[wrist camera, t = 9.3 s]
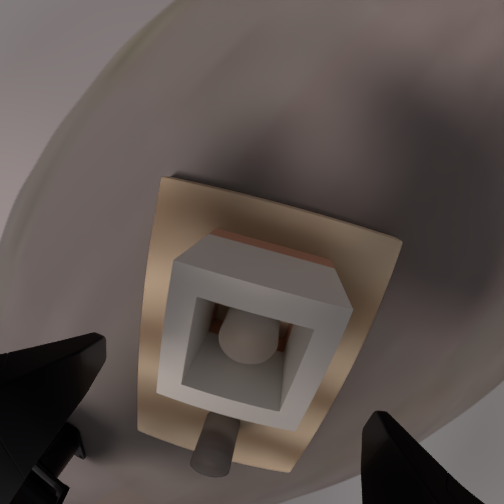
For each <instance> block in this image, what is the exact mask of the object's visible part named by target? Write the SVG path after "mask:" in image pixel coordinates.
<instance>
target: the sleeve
mask: <svg viewBox="0 0 504 504" xmlns="http://www.w3.org/2000/svg"><path fill="white" fill-rule="evenodd" d="M218 304H222V305H226V306H229V307H233V308H236V309H240V310H243V311H247V312H250V313H254V314H258V315H261V316H265V317H269V318H272V319H276V320H280V321H284V322H287V323H289V326H288V329H287V331H286V334H285V337H284V338H283V337H279V338H278V346H277V349H276V351H275V353H274V354H273V356H272V357H270V358H269V359H268V360H266V361H264V362H262V363H259V364H242V363H239V362H236V361H234V360H233V359H231V358H230V357H228V356H227V355H226V354H225V353H224V351H223V350H222V348H221V346H220V343H219V331H220V328H221V326H222V324H223V322H224V321H221V320H218V319H215V317H216V313H217V309H218ZM352 312H353V308H352V306H351V304H350V301H349V299H348V297H347V294H346V292H345V290H344V288H343V286H342V283H341V281H340V279H339V277H338V275H337V272H336V270H335V268H334V266H333V264H332V262H331V260H330V259H326V258H323V257H319V256H316V255H312V254H308V253H305V252H301V251H298V250H294V249H291V248H287V247H283V246H280V245H276V244H272V243H269V242H265V241H262V240H258V239H254V238H251V237H247V236H243V235H240V234H236V233H232V232H228V231H225V230H221V229H217V228H216V229H215V230H213V231H212V232H211V233H209V234H208V235H206V236H205V237H204V238H202V239H201V240H200V241H198V242H197V243H196V244H194V245H193V246H192V247H190V248H189V249H188V250H186V251H185V252H184V253H182V254H181V255H180V256H178V257H177V258H176V259H174V260H173V265H172V271H171V277H170V283H169V290H168V296H167V303H166V310H165V318H164V325H163V333H162V341H161V350H160V359H159V369H158V379H157V390H156V393H158V394H161V395H164V396H166V397H169V398H172V399H175V400H178V401H181V402H183V403H186V404H189V405H192V406H196V407H199V408H202V409H205V410H208V411H212V412H215V413H218V414H222V415H225V416H229V417H233V418H236V419H240V420H244V421H248V422H252V423H257V424H261V425H265V426H270V427H274V428H279V429H284V430H289V431H296V429H297V427H298V426H299V424H300V422H301V420H302V418H303V416H304V415H305V413H306V411H307V409H308V407H309V405H310V403H311V401H312V399H313V397H314V395H315V393H316V391H317V389H318V387H319V385H320V383H321V381H322V379H323V377H324V375H325V373H326V371H327V369H328V367H329V365H330V363H331V360H332V358H333V356H334V354H335V352H336V349H337V347H338V345H339V343H340V340H341V338H342V336H343V334H344V331H345V329H346V326H347V324H348V322H349V319H350V317H351V314H352Z"/></svg>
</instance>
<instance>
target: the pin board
mask: <svg viewBox="0 0 504 504" xmlns="http://www.w3.org/2000/svg"><path fill="white" fill-rule="evenodd" d="M216 228H217V229H221V230H225V231H228V232H232V233H236V234H240V235H243V236H247V237H251V238H254V239H258V240H262V241H265V242H269V243H272V244H276V245H280V246H283V247H287V248H291V249H294V250H298V251H301V252H305V253H308V254H312V255H316V256H319V257H323V258H326V259H330V260H331V262H332V264H333V266H334V268H335V270H336V272H337V275H338V277H339V279H340V281H341V283H342V286H343V288H344V290H345V292H346V294H347V297H348V299H349V301H350V304H351V306H352V308H353V312H352V314H351V317H350V319H349V322H348V324H347V326H346V329H345V331H344V334H343V336H342V338H341V340H340V343H339V345H338V347H337V349H336V352H335V354H334V356H333V358H332V360H331V363H330V365H329V367H328V369H327V371H326V373H325V375H324V377H323V379H322V381H321V383H320V385H319V387H318V389H317V391H316V393H315V395H314V397H313V399H312V401H311V403H310V405H309V407H308V409H307V411H306V413H305V415H304V416H303V418H302V420H301V422H300V424H299V426H298V427H297V429H296V431H289V430H284V429H279V428H274V427H270V426H265V425H261V424H257V423H252V422H248V421H244V420H240V419H236V418H233V417H229V416H225V415H222V414H218V413H215V412H212V411H208V410H205V409H202V408H199V407H196V406H192V405H189V404H186V403H183V402H181V401H178V400H175V399H172V398H169V397H166V396H164V395H161V394H158V393H156V390H157V379H158V369H159V359H160V350H161V341H162V333H163V325H164V318H165V310H166V303H167V296H168V290H169V283H170V277H171V271H172V265H173V260H174V259H176V258H177V257H178V256H180V255H181V254H182V253H184V252H185V251H186V250H188V249H189V248H190V247H192V246H193V245H194V244H196V243H197V242H198V241H200V240H201V239H202V238H204V237H205V236H206V235H208V234H209V233H211V232H212V231H213V230H215V229H216ZM402 244H403V242H402V241H401V240H399V239H398V238H396V237H393V236H390V235H387V234H384V233H381V232H378V231H375V230H372V229H368V228H365V227H362V226H359V225H355V224H352V223H349V222H346V221H342V220H339V219H335V218H332V217H329V216H325V215H322V214H318V213H315V212H311V211H308V210H304V209H301V208H297V207H293V206H290V205H286V204H282V203H278V202H275V201H271V200H267V199H263V198H259V197H255V196H252V195H248V194H244V193H240V192H236V191H231V190H227V189H223V188H219V187H215V186H210V185H206V184H202V183H197V182H193V181H189V180H184V179H179V178H175V177H162V179H161V184H160V189H159V194H158V199H157V205H156V210H155V216H154V222H153V228H152V235H151V241H150V248H149V255H148V263H147V270H146V279H145V287H144V297H143V307H142V318H141V331H140V345H139V364H138V399H137V425H138V431H140V432H143V433H145V434H148V435H150V436H153V437H155V438H158V439H161V440H163V441H166V442H169V443H172V444H174V445H177V446H180V447H183V448H186V449H189V450H193V451H194V453H193V456H192V458H191V461H190V465H191V467H192V468H193V469H194V470H195V471H197V472H198V473H200V474H203V475H205V476H209V477H223V476H226V475H227V474H228V473H229V470H230V466H231V462H236V463H240V464H245V465H249V466H254V467H259V468H264V469H270V470H275V471H281V472H287V473H290V471H291V470H292V468H293V467H294V465H295V464H296V462H297V461H298V459H299V458H300V456H301V455H302V453H303V452H304V450H305V449H306V447H307V446H308V444H309V442H310V441H311V439H312V438H313V436H314V434H315V433H316V431H317V429H318V428H319V426H320V424H321V423H322V421H323V419H324V418H325V416H326V414H327V412H328V411H329V409H330V407H331V405H332V404H333V402H334V400H335V398H336V396H337V395H338V393H339V391H340V389H341V387H342V385H343V383H344V381H345V379H346V378H347V376H348V374H349V372H350V370H351V368H352V366H353V364H354V362H355V360H356V357H357V355H358V353H359V351H360V349H361V347H362V345H363V343H364V341H365V338H366V336H367V334H368V332H369V329H370V327H371V325H372V323H373V320H374V318H375V316H376V313H377V311H378V308H379V306H380V304H381V301H382V299H383V296H384V294H385V291H386V288H387V286H388V283H389V280H390V278H391V275H392V272H393V270H394V267H395V264H396V261H397V258H398V255H399V253H400V250H401V247H402ZM215 319H218V320H221V321H224V322H223V324H222V326H221V328H220V331H219V343H220V346H221V348H222V350H223V351H224V353H225V354H226V355H227V356H228V357H230V358H231V359H233V360H234V361H236V362H239V363H242V364H259V363H262V362H264V361H266V360H268V359H269V358H270V357H272V356H273V354H274V353H275V351H276V349H277V346H278V338H279V337H283V338H284V337H285V334H286V331H287V329H288V326H289V323H287V322H284V321H280V320H276V319H272V318H269V317H265V316H261V315H258V314H254V313H250V312H247V311H243V310H240V309H236V308H233V307H229V306H226V305H222V304H218V309H217V313H216V317H215Z"/></svg>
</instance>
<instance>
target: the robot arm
mask: <svg viewBox="0 0 504 504" xmlns="http://www.w3.org/2000/svg"><path fill="white" fill-rule="evenodd" d="M105 360H106V338H105V337H104V336H103V335H100V334H98V333H95V332H93V333H89V334H85V335H81V336H77V337H73V338H69V339H65V340H61V341H57V342H52V343H48V344H44V345H40V346H35V347H31V348H27V349H22V350H18V351H13V352H9V353H8V354H7V353H4V354H0V504H62V503H63V501H64V499H65V497H66V495H67V493H68V491H69V489H70V488H69V487H68V486H67V485H65V484H63V483H62V482H61V481H60V480H59V479H57V478H58V476H59V475H60V473H61V472H62V471H63V469H64V468H65V466H66V465H67V464H68V462H69V461H70V460H71V458H72V457H73V455H76V456H77V457H79V458H81V459H85V457H86V456H85V453H84V450H83V446H82V442H81V439H80V435H79V432H78V430H77V429H76V428H75V427H73V426H71V425H69V424H68V423H66V421H67V419H68V418H69V416H70V415H71V414H72V412H73V411H74V410H75V408H76V407H77V406H78V404H79V403H80V402H81V400H82V399H83V398H84V396H85V395H86V393H87V392H88V390H89V388H90V387H91V385H92V383H93V381H94V380H95V378H96V376H97V374H98V373H99V371H100V369H101V368H102V366H103V364H104V363H105ZM361 482H362V503H363V504H484V503H483V502H482V501H480V500H479V499H478V498H477V497H475V496H474V495H473V494H471V493H470V492H469V491H468V490H467V489H465V488H464V487H463V486H462V485H461V484H460V483H458V481H457V480H455V479H454V478H453V477H452V476H451V475H450V474H449V473H447V471H446V470H445V469H444V468H443V467H442V466H441V465H440V464H439V463H438V462H437V461H436V460H435V459H434V458H433V457H432V456H431V455H430V454H429V453H428V452H427V451H426V450H425V449H424V448H423V447H422V446H421V445H420V444H419V443H418V442H417V441H416V440H415V439H414V438H413V437H412V436H411V435H410V434H409V433H408V432H407V431H406V430H405V429H404V428H403V427H402V426H401V425H400V424H399V423H398V422H397V421H396V420H395V419H394V418H393V417H392V416H391V415H390V414H389V413H388V412H386V411H375V412H374V413H373V414H372V415H371V417H370V418H369V420H368V421H367V423H366V424H365V426H364V428H363V431H362V453H361Z"/></svg>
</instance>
